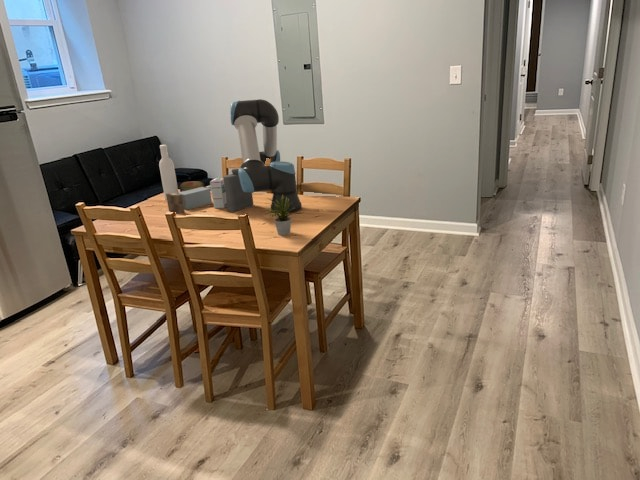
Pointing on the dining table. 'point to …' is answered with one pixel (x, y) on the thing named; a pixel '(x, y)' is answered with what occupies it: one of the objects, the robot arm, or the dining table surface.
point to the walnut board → (175, 202)
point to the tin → (190, 185)
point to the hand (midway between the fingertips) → (206, 189)
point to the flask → (236, 193)
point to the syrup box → (218, 193)
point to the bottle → (167, 172)
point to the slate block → (196, 197)
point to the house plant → (282, 217)
